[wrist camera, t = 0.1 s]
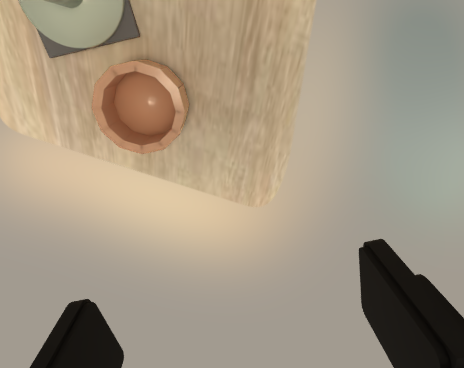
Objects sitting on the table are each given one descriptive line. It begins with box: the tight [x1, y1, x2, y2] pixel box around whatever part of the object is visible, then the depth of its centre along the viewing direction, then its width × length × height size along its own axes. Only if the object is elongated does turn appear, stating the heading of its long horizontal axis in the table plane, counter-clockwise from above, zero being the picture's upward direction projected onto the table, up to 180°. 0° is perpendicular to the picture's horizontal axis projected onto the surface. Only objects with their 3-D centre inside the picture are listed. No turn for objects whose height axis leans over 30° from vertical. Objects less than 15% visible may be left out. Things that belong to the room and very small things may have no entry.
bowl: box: [92, 59, 189, 154], centre depth 35 cm, size 10×10×5 cm
